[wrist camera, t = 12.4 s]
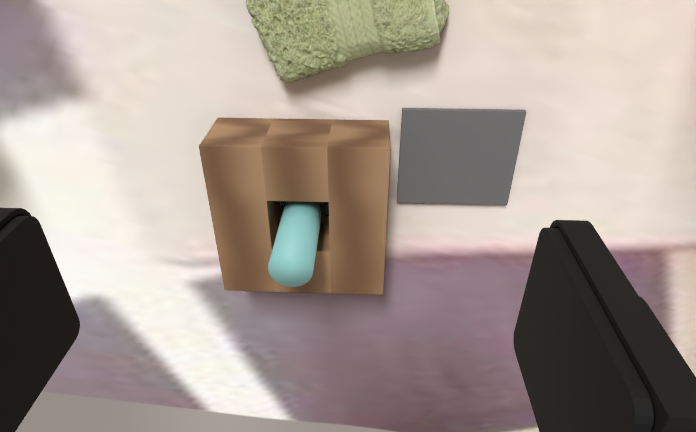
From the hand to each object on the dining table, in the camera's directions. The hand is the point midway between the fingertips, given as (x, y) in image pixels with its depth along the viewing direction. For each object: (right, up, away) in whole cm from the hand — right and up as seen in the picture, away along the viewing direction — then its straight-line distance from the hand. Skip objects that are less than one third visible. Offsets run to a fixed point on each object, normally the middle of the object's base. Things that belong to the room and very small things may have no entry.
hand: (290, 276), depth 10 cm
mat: (+10, +6, +30) cm, 32 cm away
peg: (-2, +3, +32) cm, 32 cm away
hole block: (-2, +3, +32) cm, 32 cm away
